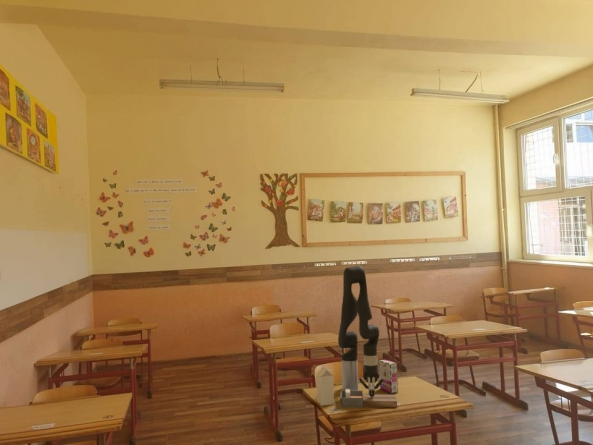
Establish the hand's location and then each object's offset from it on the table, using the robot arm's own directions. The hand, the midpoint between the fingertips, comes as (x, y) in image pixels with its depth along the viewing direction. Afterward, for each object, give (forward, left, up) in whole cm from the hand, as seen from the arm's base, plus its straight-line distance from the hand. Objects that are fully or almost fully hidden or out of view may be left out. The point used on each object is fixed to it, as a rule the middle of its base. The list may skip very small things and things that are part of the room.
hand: (371, 396), depth 242 cm
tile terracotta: (+1, -8, -3) cm, 9 cm away
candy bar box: (-23, +10, -4) cm, 25 cm away
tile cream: (0, -11, 0) cm, 11 cm away
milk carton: (0, -24, -4) cm, 25 cm away
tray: (0, -11, -4) cm, 11 cm away
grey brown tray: (0, +4, -4) cm, 5 cm away
